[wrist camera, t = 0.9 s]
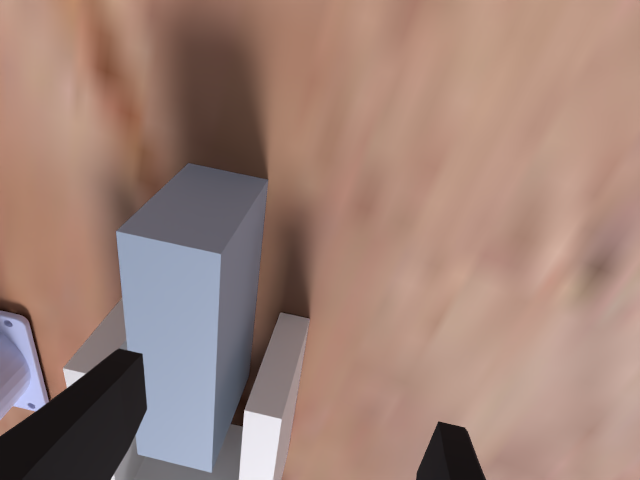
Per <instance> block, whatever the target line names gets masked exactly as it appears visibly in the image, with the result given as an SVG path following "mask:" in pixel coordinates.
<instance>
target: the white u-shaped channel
mask: <svg viewBox="0 0 640 480" xmlns="http://www.w3.org/2000/svg"><path fill="white" fill-rule="evenodd" d="M309 321H310V319H309V318H305V317H300V316H295V315H291V314H286V313H282V312H280V314H279V317H278V320H277V323H276V325H275V328H274V331H273V334H272V336H271V339H270V342H269V344H268V347H267V350H266V353H265V355H264V358H263V361H262V364H261V366H260V369H259V372H258V374H257V377H256V380H255V383H254V385H253V388H252V391H251V393H250V396H249V399H248V402H247V404H246V407H245V410H244V421H243V427H242V426H238V425H233V424H230V426H229V429H228V432H227V434H226V437H225V439H224V442H223V445H222V447H221V450H220V452H219V455H218V458H217V460H216V463H215V465H214V468H213V470H212V473H210V472H206V471H202V470H198V469H194V468H190V467H186V466H182V465H178V464H174V463H170V462H166V461H162V460H158V459H154V458H150V457H146V456H142V455H138V454H137V444H136V435H135V437H134V439H133V441H132V443H131V446H130V448H129V450H128V451H127V453H126V455H125V457H124V458H123V460H122V462H121V463H120V465H119V467H118V468H117V470H116V472H115V473H114V475H113V477H112V478H111V480H281V478H282V474H283V470H284V466H285V462H286V458H287V454H288V449H289V443H290V437H291V431H292V425H293V418H294V412H295V406H296V400H297V394H298V388H299V382H300V376H301V370H302V364H303V358H304V351H305V345H306V339H307V333H308V327H309ZM119 348H120V349H124V350H127V340H126V329H125V319H124V309H123V298H122V299H121V300H120V301H119V302H118V303H117V304H116V306H115V307H114V308H113V309H112V310H111V312H110V313H109V314H108V315H107V316H106V318H105V319H104V320H103V321H102V322H101V323H100V325H99V326H98V327H97V328H96V329H95V331H94V332H93V333H92V334H91V335H90V337H89V338H88V339H87V340H86V341H85V343H84V344H83V345H82V346H81V347H80V348H79V350H78V351H77V352H76V353H75V354H74V356H73V357H72V358H71V359H70V360H69V362H68V363H67V364H66V365H65V366H64V368H63V371H64V376H65V380H66V385H67V388H68V387H69V386H70V385H72V384H73V383H74V382H76V381H77V380H78V379H80V378H81V377H82V376H83V375H85V374H86V373H87V372H88V371H90V370H91V369H92V368H94V367H95V366H96V365H97V364H99V363H100V362H101V361H102V360H104V359H105V358H106V357H107V356H109V355H110V354H111V353H113V352H114V351H115V350H117V349H119Z"/></svg>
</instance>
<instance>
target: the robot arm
mask: <svg viewBox="0 0 640 480" xmlns="http://www.w3.org/2000/svg"><path fill="white" fill-rule="evenodd" d="M12 406H16V407H20V408H24V409H28V410H32V411H36V412H34V413H33V414H32V415H30V416H29V417H27V418H26V419H25V420H23V421H22V422H20V423H19V424H17V425H16V426H14V427H13V428H12V429H10V430H9V431H7V432H6V433H4V434H3V435H1V436H0V480H111V478H112V477H113V475H114V473H115V472H116V470H117V468H118V467H119V465H120V463H121V462H122V460H123V458H124V457H125V455H126V453H127V451H128V450H129V448H130V446H131V443H132V441H133V439H134V437H135V435H136V433H137V431H138V429H139V426H140V424H141V422H142V420H143V417H144V415H145V413H146V411H147V399H146V387H145V375H144V364H143V354H142V353H137V352H133V351H129V350H124V349H120V348H119V349H117V350H115V351H114V352H113V353H111V354H110V355H109V356H107V357H106V358H105V359H104V360H102V361H101V362H100V363H99V364H97V365H96V366H95V367H94V368H92V369H91V370H90V371H88V372H87V373H86V374H85V375H83V376H82V377H81V378H80V379H78V380H77V381H76V382H74V383H73V384H72V385H70V386H69V387H68V388H67V389H65V390H64V391H63V392H61V393H60V394H59V395H57V396H56V397H55V398H53V399H52V400H51V401H49V400H48V396H47V392H46V388H45V384H44V380H43V376H42V372H41V368H40V364H39V360H38V356H37V352H36V348H35V344H34V340H33V336H32V332H31V328H30V324H29V321H28V320H27V319H26V318H25V317H24V316H22V315H19V314H14V313H10V312H5V311H1V310H0V420H1V419H2V418H3V417H4V415H5V414H6V413H7V412H8V411H9V410H10V409H11V407H12ZM416 480H486V479H485V476H484V474H483V471H482V469H481V466H480V464H479V461H478V458H477V456H476V453H475V450H474V448H473V445H472V442H471V439H470V437H469V434H468V431H467V430H466V429H465V427H460V426H456V425H451V424H447V423H443V422H438V424H437V426H436V429H435V431H434V433H433V436H432V438H431V440H430V443H429V445H428V447H427V450H426V452H425V455H424V457H423V459H422V462H421V464H420V466H419V469H418V471H417V478H416Z"/></svg>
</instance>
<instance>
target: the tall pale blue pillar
mask: <svg viewBox="0 0 640 480" xmlns="http://www.w3.org/2000/svg"><path fill="white" fill-rule="evenodd" d="M267 187H268V180H267V179H263V178H258V177H253V176H248V175H243V174H238V173H234V172H229V171H224V170H219V169H214V168H210V167H205V166H200V165H195V164H190V163H188V164H187V165H186V166H185V167H184V168H183V169H182V170H181V171H179V172H178V173H177V174H176V175H175V176H174V177H173V178H172V179H171V180H170V181H169V182H168V183H167V184H166V185H165V186H164V187H162V188H161V189H160V190H159V191H158V192H157V193H156V194H155V195H154V196H153V197H152V198H151V199H150V200H149V201H148V202H147V203H145V204H144V205H143V206H142V207H141V208H140V209H139V210H138V211H137V212H136V213H135V214H134V215H133V216H132V217H131V218H130V219H128V220H127V221H126V222H125V223H124V224H123V225H122V226H121V227H120V228H119V229H118V230H117V231H116V236H117V246H118V257H119V267H120V277H121V288H122V298H123V309H124V319H125V329H126V340H127V350H129V351H133V352H137V353H142V354H143V364H144V375H145V387H146V399H147V411H146V413H145V415H144V417H143V420H142V422H141V424H140V426H139V429H138V431H137V433H136V444H137V454H138V455H142V456H146V457H150V458H154V459H158V460H162V461H166V462H170V463H174V464H178V465H182V466H186V467H190V468H194V469H198V470H202V471H206V472H210V473H212V470H213V468H214V465H215V463H216V460H217V458H218V455H219V452H220V450H221V447H222V445H223V442H224V439H225V437H226V434H227V432H228V429H229V426H230V424H231V421H232V419H233V416H234V414H235V411H236V408H237V406H238V403H239V401H240V398H241V395H242V393H243V390H244V388H245V385H246V382H247V380H248V377H249V373H250V362H251V352H252V342H253V331H254V321H255V311H256V301H257V290H258V280H259V270H260V259H261V249H262V239H263V228H264V218H265V208H266V198H267Z"/></svg>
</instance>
